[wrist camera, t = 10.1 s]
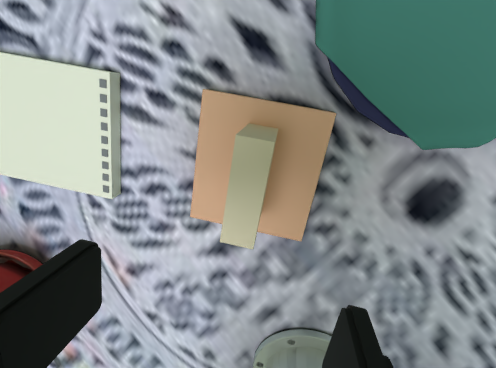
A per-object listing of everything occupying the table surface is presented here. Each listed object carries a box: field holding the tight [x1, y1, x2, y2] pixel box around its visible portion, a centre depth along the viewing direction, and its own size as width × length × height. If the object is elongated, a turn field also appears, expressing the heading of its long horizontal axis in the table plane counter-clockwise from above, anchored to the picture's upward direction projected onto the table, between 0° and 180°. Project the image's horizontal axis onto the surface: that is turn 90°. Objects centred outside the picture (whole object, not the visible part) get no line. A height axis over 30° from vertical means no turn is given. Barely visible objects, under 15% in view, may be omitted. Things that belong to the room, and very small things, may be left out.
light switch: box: [190, 89, 336, 249], centre depth 22 cm, size 11×12×7 cm
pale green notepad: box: [0, 52, 121, 199], centre depth 26 cm, size 18×12×2 cm, turn 80°
